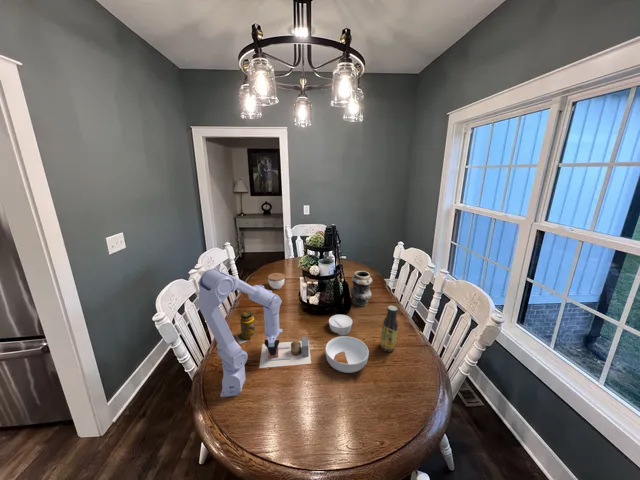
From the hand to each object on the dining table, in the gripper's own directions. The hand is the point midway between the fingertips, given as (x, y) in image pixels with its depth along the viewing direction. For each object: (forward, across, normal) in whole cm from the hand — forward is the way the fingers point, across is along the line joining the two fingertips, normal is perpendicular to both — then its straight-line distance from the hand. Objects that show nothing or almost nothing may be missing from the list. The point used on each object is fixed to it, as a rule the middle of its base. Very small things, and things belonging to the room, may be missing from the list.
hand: (273, 350), depth 105 cm
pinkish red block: (+2, 0, 0) cm, 2 cm away
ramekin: (+4, +15, -31) cm, 35 cm away
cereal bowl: (+4, -7, -29) cm, 30 cm away
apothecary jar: (+4, +40, -48) cm, 63 cm away
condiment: (+4, +15, +13) cm, 20 cm away
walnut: (+2, 0, -9) cm, 9 cm away
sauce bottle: (+4, 0, -49) cm, 49 cm away
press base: (+3, 0, -5) cm, 6 cm away
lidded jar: (+4, +65, +1) cm, 65 cm away
